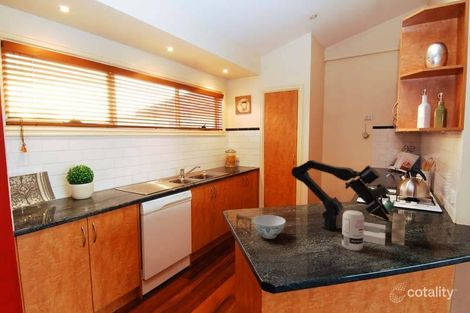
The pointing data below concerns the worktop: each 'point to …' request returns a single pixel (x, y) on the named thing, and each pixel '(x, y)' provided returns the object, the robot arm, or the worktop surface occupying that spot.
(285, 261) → the worktop surface
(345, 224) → the supplement can
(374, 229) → the white flat frame
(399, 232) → the block
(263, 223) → the chinaware
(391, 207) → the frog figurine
